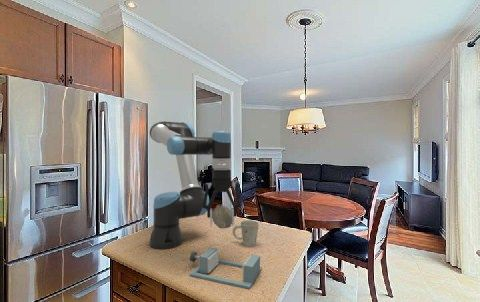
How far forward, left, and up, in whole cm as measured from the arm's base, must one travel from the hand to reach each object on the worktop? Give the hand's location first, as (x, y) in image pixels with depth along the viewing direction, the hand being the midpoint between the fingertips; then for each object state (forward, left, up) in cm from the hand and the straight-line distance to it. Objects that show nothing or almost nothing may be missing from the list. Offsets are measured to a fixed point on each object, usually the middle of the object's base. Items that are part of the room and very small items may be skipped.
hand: (221, 224), depth 99 cm
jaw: (-3, -9, -13) cm, 17 cm away
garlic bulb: (0, 0, -1) cm, 1 cm away
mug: (+4, +19, -14) cm, 24 cm away
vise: (+6, -9, -14) cm, 18 cm away
